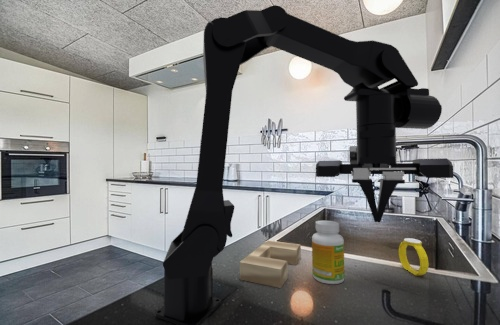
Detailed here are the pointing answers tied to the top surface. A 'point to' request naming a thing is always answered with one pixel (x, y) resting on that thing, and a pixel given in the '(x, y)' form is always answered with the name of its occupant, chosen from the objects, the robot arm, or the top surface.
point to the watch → (421, 254)
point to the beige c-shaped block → (270, 263)
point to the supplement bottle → (328, 253)
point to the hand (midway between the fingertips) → (377, 221)
